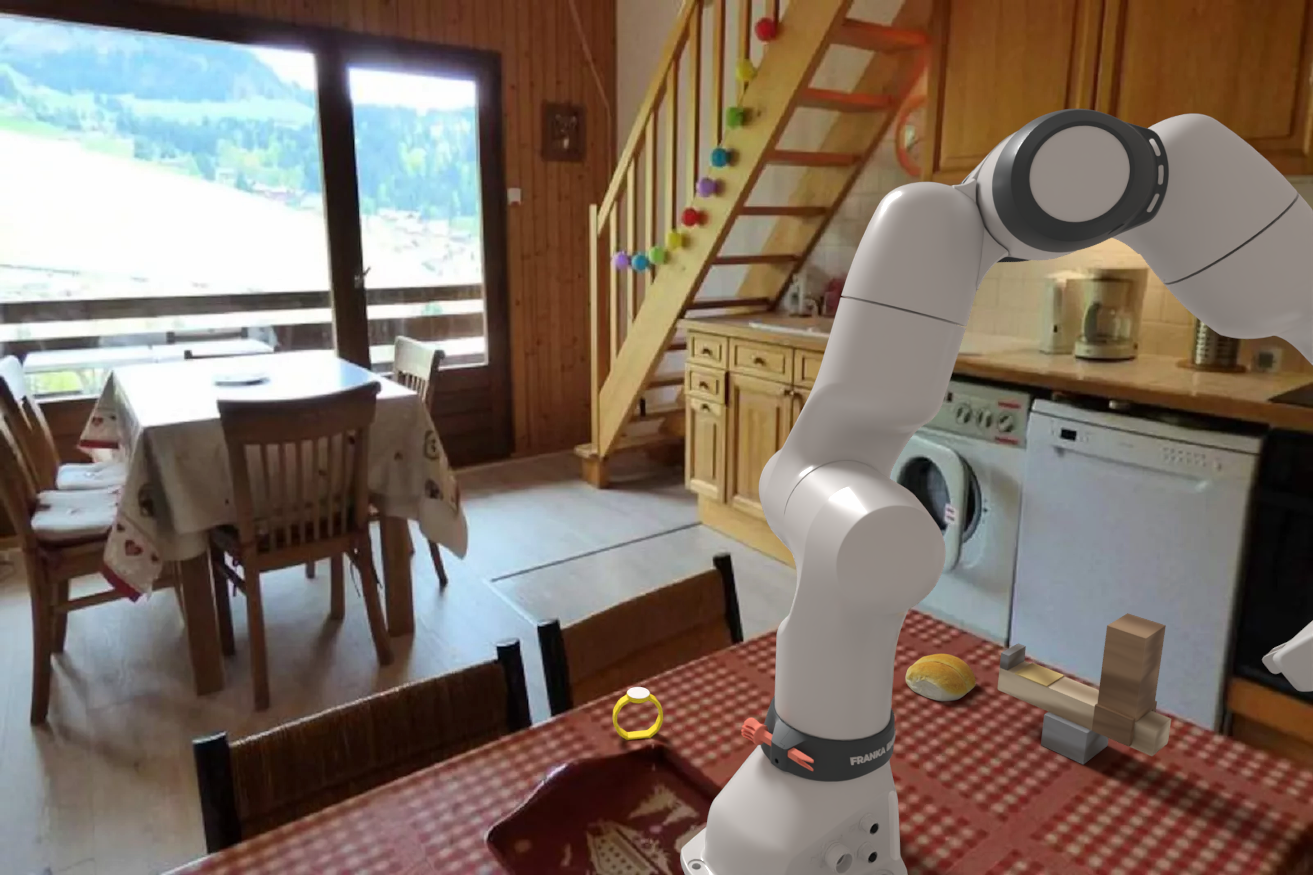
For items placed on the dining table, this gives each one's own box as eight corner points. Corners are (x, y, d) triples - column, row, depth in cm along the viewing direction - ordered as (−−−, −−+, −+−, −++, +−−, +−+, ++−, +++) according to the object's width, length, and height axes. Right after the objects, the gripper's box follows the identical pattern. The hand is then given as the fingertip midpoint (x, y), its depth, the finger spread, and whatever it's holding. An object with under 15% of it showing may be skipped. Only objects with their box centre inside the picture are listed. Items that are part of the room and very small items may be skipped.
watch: (659, 729, 105) (662, 685, 104) (662, 742, 103) (666, 697, 102) (610, 731, 104) (613, 686, 103) (613, 744, 102) (616, 698, 100)
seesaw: (1143, 792, 93) (1154, 717, 91) (990, 721, 106) (996, 655, 104) (1166, 771, 96) (1177, 699, 94) (1016, 705, 110) (1022, 641, 108)
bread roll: (982, 684, 116) (985, 657, 115) (953, 710, 109) (956, 681, 108) (925, 663, 121) (927, 637, 120) (894, 687, 115) (896, 660, 114)
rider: (1128, 746, 93) (1143, 640, 90) (1091, 730, 96) (1104, 627, 93) (1153, 726, 97) (1168, 623, 94) (1116, 712, 100) (1130, 611, 97)
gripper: (1420, 542, 82) (1283, 604, 91) (1359, 600, 69) (1208, 665, 79) (1474, 600, 79) (1328, 658, 89) (1420, 671, 67) (1258, 729, 77)
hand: (1271, 662), depth 84 cm, fingers closed
